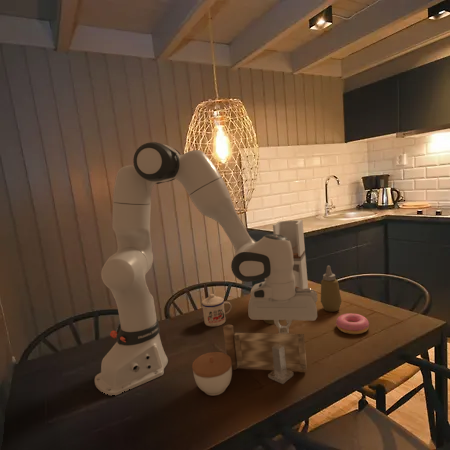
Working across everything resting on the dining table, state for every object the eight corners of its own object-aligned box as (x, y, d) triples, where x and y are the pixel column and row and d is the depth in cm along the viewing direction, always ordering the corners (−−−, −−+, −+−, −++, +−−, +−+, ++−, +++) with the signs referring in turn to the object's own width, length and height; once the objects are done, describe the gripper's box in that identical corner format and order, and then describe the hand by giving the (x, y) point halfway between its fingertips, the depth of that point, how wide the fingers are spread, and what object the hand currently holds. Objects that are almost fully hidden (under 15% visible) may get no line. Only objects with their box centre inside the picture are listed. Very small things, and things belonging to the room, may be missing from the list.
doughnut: (354, 319, 120) (353, 308, 119) (377, 331, 110) (376, 319, 109) (329, 326, 117) (328, 315, 116) (350, 339, 106) (349, 327, 106)
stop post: (283, 384, 87) (280, 353, 86) (268, 377, 91) (265, 347, 89) (293, 375, 90) (290, 345, 89) (279, 369, 94) (276, 340, 93)
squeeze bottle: (317, 308, 133) (313, 265, 131) (333, 303, 135) (330, 262, 133) (329, 315, 126) (325, 270, 123) (346, 310, 128) (343, 266, 125)
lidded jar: (187, 392, 88) (183, 360, 87) (214, 372, 96) (210, 342, 95) (215, 407, 81) (211, 372, 80) (242, 384, 89) (238, 352, 88)
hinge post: (232, 371, 95) (227, 330, 94) (225, 368, 98) (220, 327, 96) (239, 366, 98) (235, 326, 96) (232, 363, 100) (228, 323, 98)
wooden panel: (237, 366, 96) (234, 335, 95) (238, 363, 98) (235, 332, 96) (306, 369, 91) (303, 337, 89) (306, 366, 92) (303, 334, 91)
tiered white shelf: (285, 294, 153) (279, 221, 148) (308, 294, 149) (302, 219, 144) (280, 303, 143) (272, 225, 138) (304, 304, 138) (297, 223, 134)
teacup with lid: (207, 329, 125) (203, 300, 124) (201, 320, 134) (198, 293, 132) (236, 321, 129) (233, 293, 127) (228, 313, 138) (225, 287, 136)
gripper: (316, 284, 96) (319, 328, 98) (248, 285, 101) (252, 327, 103) (317, 292, 90) (319, 338, 92) (245, 292, 95) (249, 336, 97)
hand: (283, 332), depth 97 cm, fingers closed
